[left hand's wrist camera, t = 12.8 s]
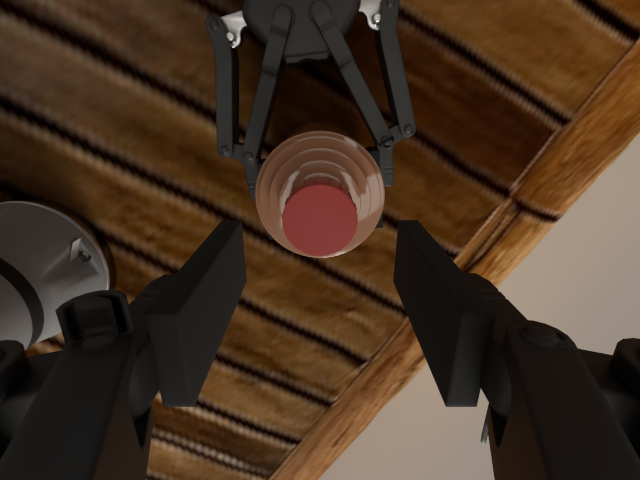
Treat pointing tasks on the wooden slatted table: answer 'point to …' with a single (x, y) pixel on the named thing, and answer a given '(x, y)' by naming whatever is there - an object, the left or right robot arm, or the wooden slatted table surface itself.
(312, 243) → the cap
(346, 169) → the bottle
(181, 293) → the left robot arm
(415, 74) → the wooden slatted table surface
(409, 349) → the wooden slatted table surface
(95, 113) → the wooden slatted table surface
